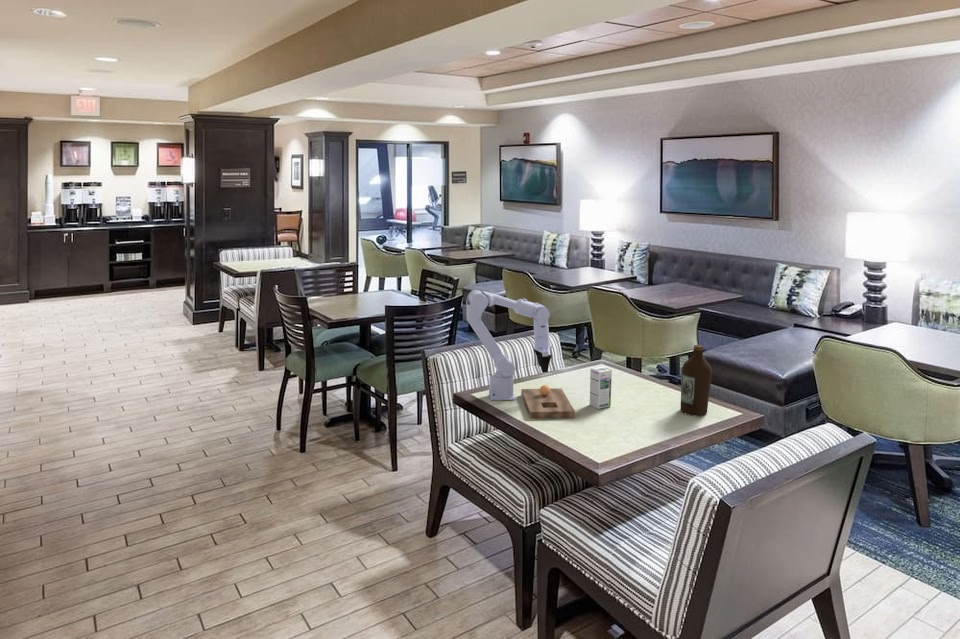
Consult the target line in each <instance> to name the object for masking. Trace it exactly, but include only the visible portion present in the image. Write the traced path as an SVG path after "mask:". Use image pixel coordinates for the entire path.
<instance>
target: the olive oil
mask: <svg viewBox="0 0 960 639" xmlns="http://www.w3.org/2000/svg"><path fill="white" fill-rule="evenodd" d="M692 350H693V351H692V353H693V354H692V356H691V357H690V358H688V359H687V360H685V361H684V363H683V364H682V367H681V371H680V375H681V376H680V409H679V410H680V412H681V411H682V412H681V413H683V414H685V413H686V414H685V415H688V414H689V416H693V415H702V416H705V415H707V414H708V408H709V407H708V406H709V398H710V391H711V384H712V376H713V370H712V366H711V365H710V363H709V362H708V361H707V360H706V359H705V357H704V356H703V354H704V345H702V344H695V345H693V349H692ZM706 413H707V414H706ZM704 414H705V415H704Z"/></svg>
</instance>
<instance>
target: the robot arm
mask: <svg viewBox="0 0 960 639" xmlns="http://www.w3.org/2000/svg"><path fill="white" fill-rule="evenodd" d="M494 305H497V306H500V307H503V308H504V307H505V308H508V309H512V310H513V311H514V313H515V314H518V315H519V316H520V315H521V316H524V317H527V318H531V319H532V318H533V335H534V336H533V340H534V348H533V351H534V354H535V356H536V359H537V364H538V367H539V368H540V369H541V372H542V373H548V372H549V366H550V362H551V359H552V358H553V355H552V354H549V353H548V352H549V351H550V349H553V348H554V347H553V346H554V345H553V344H550V331H549V330H550V328H549V319H550V317H551V313H550V311H549V309H548V308H547V307H546V306H544V305H543V304H541V303H539V302H532V301H528V299H527V298H524V297H523V298H518V299H517V300H514V299H511V298H508V297H505V296H502V295H499V294H496V293H494V292H489V291H485V290H482V291H481V290H479V289H473V290H471V291H470V292H469V293H468V294H467V297H466V300H465V306H466V321H467V323H468V324H469V325H470V326H471V328H472V330H473V331H474V333H475V334H476V335H477V338H478V339H479V340H480V342H481V343H482V345H483V346H484V348H485V350H486V351H487V352H488V354H489V355H490V357H491V359H492V361H493V364H494V368H495V369H496V371H495V373H494V374H492V375H489V388H488V394H489V398H490V400H491V401H515V400H516V396H515V393H514V379H515V378H514V375H515V371H516V367H515V365H514V363H513V362H512V361H511V360H510V359H509V357H508V356H506V355H505V353H504V352H503V351H502V349H501V348H500V347H499V346H500V345H498V343H497V342H496V340H495V339H494V337H493V336H492V334H491V333H490V330H489V329H488V327H486V325H485V324H484V322H483V320H482V317H483V313H484V312H485V310H486V309H487V307H492V306H494Z"/></svg>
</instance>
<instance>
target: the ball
mask: <svg viewBox="0 0 960 639" xmlns="http://www.w3.org/2000/svg"><path fill="white" fill-rule="evenodd" d="M539 389H540V393H541V394H542V395H544V396H546V395H548V394H549V393H550V389H551V388H550V386H548V385H546V384H542V385H541V386H540V387H539Z"/></svg>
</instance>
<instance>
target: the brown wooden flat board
mask: <svg viewBox="0 0 960 639" xmlns="http://www.w3.org/2000/svg"><path fill="white" fill-rule="evenodd" d="M520 395H521V398H522V400H523V404H524V406H525V409H526V412H527V414H528V417H529V419H575V415H576V410H575V409H574V407H573V405H572V403H571V402H570V400H569V399H568V397H567V395H566V393H565V392H564V390H563V388H558V387H556V388H550V393H549V394H548V395H546V396H544V395H542V394H541V393H540V388H521V392H520Z"/></svg>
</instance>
